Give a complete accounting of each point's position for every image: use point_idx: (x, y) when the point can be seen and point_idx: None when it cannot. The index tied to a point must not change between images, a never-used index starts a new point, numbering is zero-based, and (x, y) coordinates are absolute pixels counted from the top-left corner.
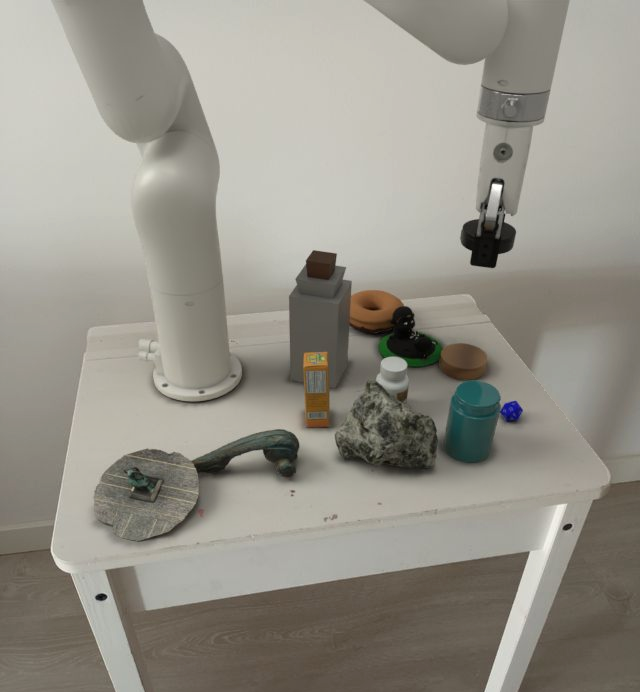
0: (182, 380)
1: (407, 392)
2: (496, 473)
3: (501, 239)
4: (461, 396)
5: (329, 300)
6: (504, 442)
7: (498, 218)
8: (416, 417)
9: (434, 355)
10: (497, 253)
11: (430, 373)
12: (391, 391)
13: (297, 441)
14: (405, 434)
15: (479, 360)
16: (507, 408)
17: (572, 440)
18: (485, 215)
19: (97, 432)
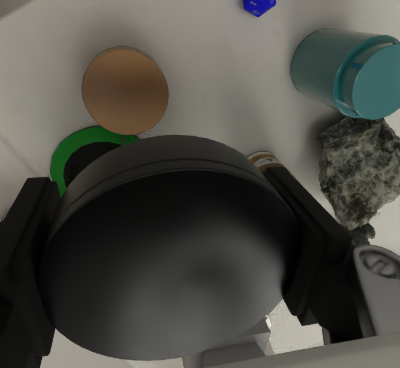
0: None
1: (278, 166)
2: (369, 17)
3: (291, 222)
4: (392, 109)
5: (261, 343)
6: (309, 5)
7: (31, 283)
8: None
9: (119, 139)
10: (309, 196)
11: (161, 135)
12: None
13: (360, 240)
14: None
15: (132, 65)
16: (270, 6)
17: None
18: (46, 340)
19: (306, 340)
